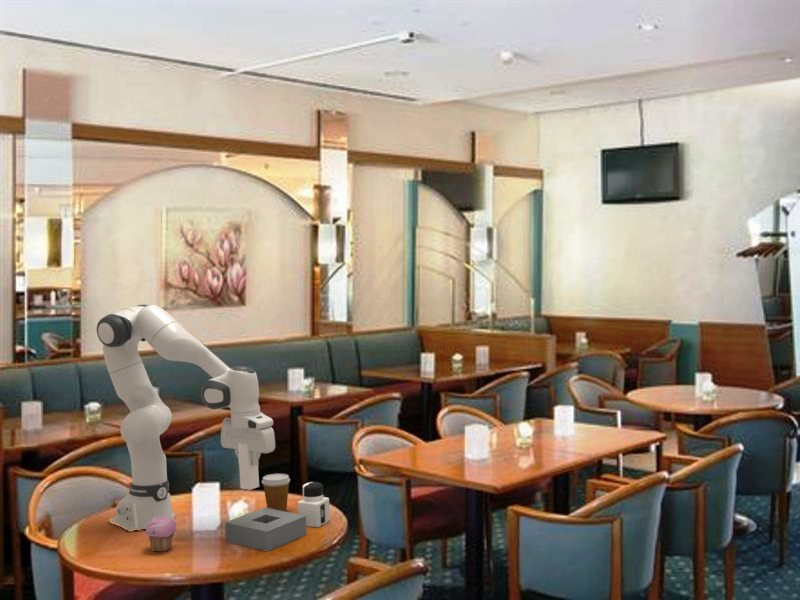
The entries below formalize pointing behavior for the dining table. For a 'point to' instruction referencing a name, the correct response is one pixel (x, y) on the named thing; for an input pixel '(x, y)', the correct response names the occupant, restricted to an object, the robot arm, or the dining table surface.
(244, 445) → the peg
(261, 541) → the well block
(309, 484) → the container
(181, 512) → the dining table surface
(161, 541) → the cupcake
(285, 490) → the disposable coffee cup
